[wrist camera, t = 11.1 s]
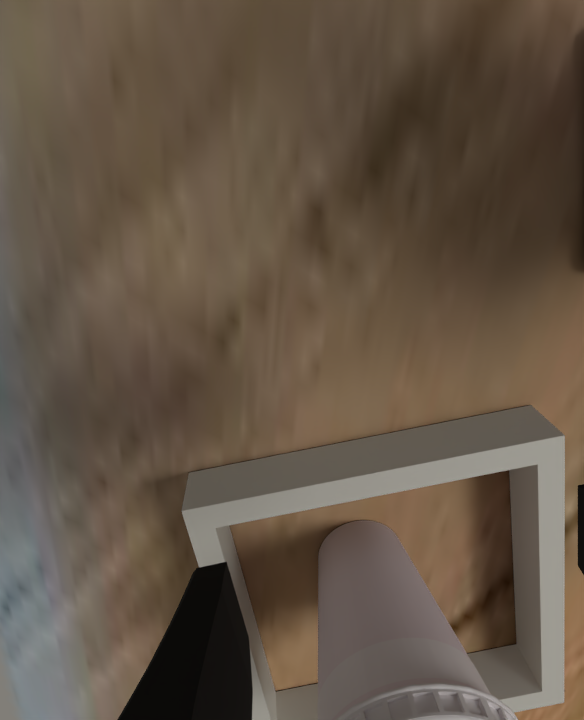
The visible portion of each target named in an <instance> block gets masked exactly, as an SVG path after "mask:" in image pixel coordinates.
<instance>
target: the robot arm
mask: <svg viewBox="0 0 584 720" xmlns="http://www.w3.org/2000/svg"><path fill="white" fill-rule="evenodd" d="M578 566H579V568H580V570H581V571H582V573H583V574H584V484H583V485H578ZM252 701H253V687H252V672H251V658H250V645H249V636H248V633H247V629H246V626H245V622H244V619H243V616H242V612H241V609H240V605H239V602H238V599H237V595H236V592H235V588H234V585H233V582H232V578H231V575H230V571H229V568H228V565H227V562H223V563H218V564H214V565H209V566H204V567H200V568H196V570H195V571H194V573H193V574H192V576H191V579H190V581H189V583H188V586H187V588H186V590H185V592H184V595H183V597H182V599H181V601H180V604H179V606H178V608H177V610H176V612H175V614H174V616H173V618H172V620H171V623H170V625H169V627H168V629H167V631H166V633H165V635H164V637H163V639H162V641H161V643H160V644H159V646H158V648H157V650H156V652H155V654H154V656H153V658H152V660H151V662H150V664H149V666H148V668H147V669H146V671H145V673H144V675H143V677H142V678H141V680H140V682H139V684H138V685H137V687H136V689H135V691H134V692H133V694H132V696H131V698H130V699H129V701H128V703H127V704H126V706H125V708H124V710H123V711H122V713H121V715H120V716H119V718H118V720H252Z"/></svg>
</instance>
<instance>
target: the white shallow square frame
mask: <svg viewBox="0 0 584 720" xmlns="http://www.w3.org/2000/svg"><path fill="white" fill-rule="evenodd" d="M507 470H509V477H510V501H511V525H512V548H513V572H514V596H515V620H516V643H517V644H515V645H510V646H505V647H499V648H494V649H489V650H484V651H479V652H474V653H469V654H467V655H468V656H469V658H470V660H471V661H472V663H473V664H474V666H475V667H476V669H477V671H478V673H479V674H480V676H481V678H482V680H483V681H484V683H485V685H486V687H487V688H488V690H489V692H490V694H491V695H493V696H495V697H496V698H497V699H499V700H500V701H501V702H503V703H504V704H505V705H507V706H508V707H509V708H511V709H512V711H513V712H519V711H524V710H529V709H534V708H539V707H544V706H549V705H554V704H559V703H564V526H565V435H564V434H563V433H562V432H560V431H559V430H558V429H557V428H556V427H555V426H554V425H553V424H552V423H550V422H549V421H548V420H547V419H546V418H545V417H544V416H543V415H542V414H540V413H539V412H538V411H537V410H536V409H535V408H534V407H533V406H532V405H529V406H524V407H519V408H514V409H509V410H504V411H498V412H493V413H488V414H483V415H478V416H473V417H468V418H463V419H458V420H453V421H448V422H443V423H438V424H433V425H428V426H423V427H418V428H413V429H408V430H402V431H397V432H392V433H387V434H382V435H377V436H372V437H367V438H362V439H357V440H352V441H347V442H342V443H337V444H332V445H327V446H322V447H317V448H312V449H306V450H301V451H296V452H291V453H286V454H281V455H276V456H271V457H266V458H261V459H256V460H251V461H246V462H241V463H236V464H231V465H226V466H221V467H215V468H210V469H205V470H200V471H195V472H190V473H189V475H188V480H187V485H186V490H185V495H184V500H183V505H182V511H181V512H182V515H183V518H184V521H185V524H186V527H187V531H188V534H189V537H190V540H191V543H192V547H193V550H194V553H195V556H196V559H197V562H198V566H199V568H200V567H204V566H209V565H214V564H218V563H223V562H227V565H228V568H229V571H230V575H231V578H232V582H233V585H234V588H235V592H236V595H237V599H238V602H239V605H240V609H241V612H242V616H243V619H244V622H245V626H246V629H247V633H248V636H249V645H250V658H251V672H252V687H253V701H252V720H318V714H317V706H318V683H317V684H312V685H307V686H302V687H297V688H292V689H287V690H282V691H277V692H275V688H274V684H273V681H272V677H271V674H270V670H269V666H268V663H267V659H266V656H265V652H264V648H263V645H262V641H261V638H260V634H259V630H258V627H257V623H256V620H255V616H254V612H253V609H252V605H251V602H250V598H249V594H248V591H247V587H246V584H245V580H244V576H243V573H242V569H241V566H240V562H239V559H238V555H237V551H236V548H235V544H234V541H233V537H232V533H231V530H230V526H229V525H234V524H239V523H244V522H249V521H254V520H259V519H264V518H269V517H274V516H279V515H284V514H289V513H294V512H299V511H304V510H309V509H314V508H320V507H325V506H330V505H335V504H340V503H345V502H350V501H355V500H360V499H365V498H370V497H375V496H380V495H385V494H390V493H395V492H400V491H405V490H411V489H416V488H421V487H426V486H431V485H436V484H441V483H446V482H451V481H456V480H461V479H466V478H471V477H476V476H481V475H486V474H491V473H496V472H502V471H507Z"/></svg>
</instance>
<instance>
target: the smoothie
mask: <svg viewBox="0 0 584 720" xmlns="http://www.w3.org/2000/svg"><path fill="white" fill-rule="evenodd" d="M317 714H318V720H518V719H517V717H516V716H515V714H514V712H513V711H512V709H511V708H509V707H508V706H507V705H505V704H504V703H503V702H501V701H500V700H499V699H497V698H496V697H495V696H493V695H491V694H490V692H489V690H488V688H487V687H486V685H485V683H484V681H483V680H482V678H481V676H480V674H479V673H478V671H477V669H476V667H475V666H474V664H473V663H472V661H471V660H470V658H469V656H468V655H467V653H466V651H465V650H464V648H463V646H462V645H461V643H460V641H459V640H458V638H457V636H456V635H455V633H454V631H453V630H452V628H451V626H450V625H449V623H448V621H447V619H446V618H445V616H444V614H443V613H442V611H441V609H440V608H439V606H438V604H437V603H436V601H435V599H434V598H433V596H432V594H431V593H430V591H429V589H428V588H427V586H426V584H425V582H424V581H423V579H422V577H421V576H420V574H419V572H418V571H417V569H416V567H415V566H414V564H413V562H412V561H411V559H410V557H409V556H408V554H407V552H406V551H405V549H404V547H403V546H402V544H401V542H400V540H399V539H398V537H397V535H396V534H395V533H394V532H393V531H392V530H391V529H390V528H389V527H387V526H385V525H383V524H381V523H378V522H375V521H368V520H360V521H353V522H349V523H346V524H344V525H342V526H340V527H338V528H336V529H335V530H333V531H332V532H331V533H330V534H329V535H328V536H327V537H326V538H325V539H324V541H323V543H322V545H321V547H320V550H319V554H318V706H317Z"/></svg>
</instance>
